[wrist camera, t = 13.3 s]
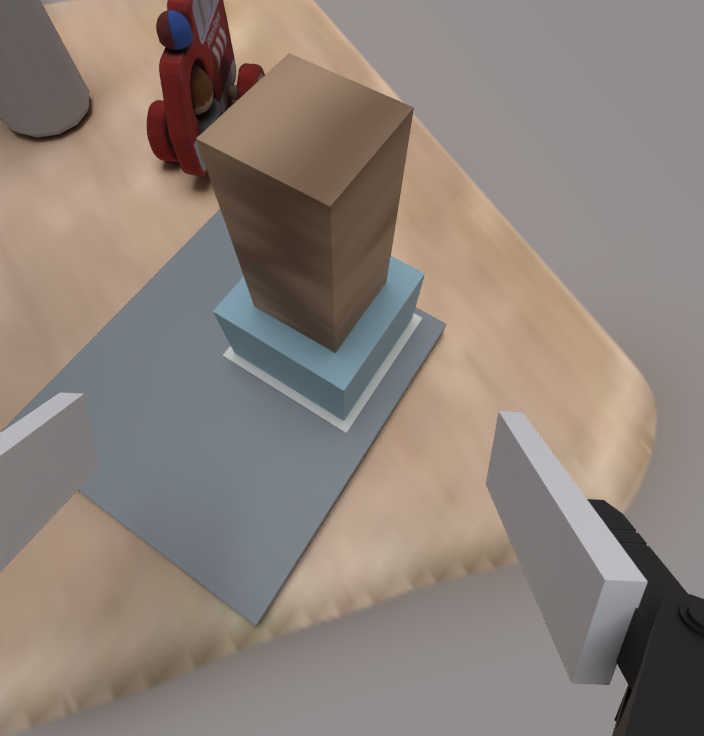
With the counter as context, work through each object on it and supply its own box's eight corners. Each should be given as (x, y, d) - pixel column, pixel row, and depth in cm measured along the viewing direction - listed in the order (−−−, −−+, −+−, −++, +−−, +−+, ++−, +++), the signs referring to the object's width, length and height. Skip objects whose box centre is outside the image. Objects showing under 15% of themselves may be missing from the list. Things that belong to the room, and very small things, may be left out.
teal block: (234, 353, 28) (212, 311, 23) (308, 263, 30) (302, 209, 26) (343, 421, 26) (344, 391, 21) (411, 319, 29) (424, 273, 24)
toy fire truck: (153, 189, 35) (80, 46, 25) (196, 82, 39) (149, -71, 30) (242, 199, 34) (203, 59, 25) (274, 91, 39) (252, -61, 30)
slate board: (15, 436, 27) (0, 430, 25) (228, 215, 34) (224, 202, 32) (259, 623, 23) (255, 626, 22) (442, 332, 30) (446, 323, 29)
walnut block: (254, 306, 23) (195, 138, 14) (308, 240, 25) (288, 53, 16) (335, 353, 22) (330, 206, 13) (386, 281, 24) (413, 107, 15)
